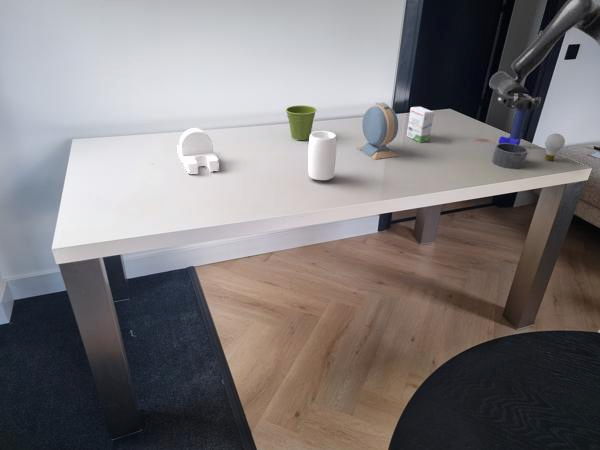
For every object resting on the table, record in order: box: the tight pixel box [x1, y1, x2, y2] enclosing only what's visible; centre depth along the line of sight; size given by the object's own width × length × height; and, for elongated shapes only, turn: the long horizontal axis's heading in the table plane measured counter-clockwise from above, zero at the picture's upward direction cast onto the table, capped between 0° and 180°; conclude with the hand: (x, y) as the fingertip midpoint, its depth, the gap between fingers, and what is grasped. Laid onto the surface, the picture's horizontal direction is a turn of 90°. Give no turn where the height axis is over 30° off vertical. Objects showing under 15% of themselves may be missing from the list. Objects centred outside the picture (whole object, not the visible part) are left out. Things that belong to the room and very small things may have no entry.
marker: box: [509, 97, 531, 140], centre depth 140 cm, size 3×3×13 cm
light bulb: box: [544, 133, 566, 162], centre depth 149 cm, size 6×6×10 cm
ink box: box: [406, 106, 435, 143], centre depth 167 cm, size 8×5×12 cm, turn 27°
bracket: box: [176, 127, 220, 174], centre depth 141 cm, size 19×10×11 cm, turn 24°
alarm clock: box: [356, 102, 399, 160], centre depth 152 cm, size 14×10×18 cm
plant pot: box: [285, 104, 317, 141], centre depth 165 cm, size 12×12×11 cm
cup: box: [307, 130, 338, 181], centre depth 131 cm, size 8×8×14 cm
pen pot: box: [491, 143, 529, 170], centre depth 146 cm, size 10×10×6 cm
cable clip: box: [498, 132, 524, 145], centre depth 159 cm, size 12×4×6 cm, turn 132°
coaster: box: [471, 137, 494, 144], centre depth 168 cm, size 8×8×1 cm
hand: (526, 106), depth 135 cm, fingers closed on marker, 3 cm apart
